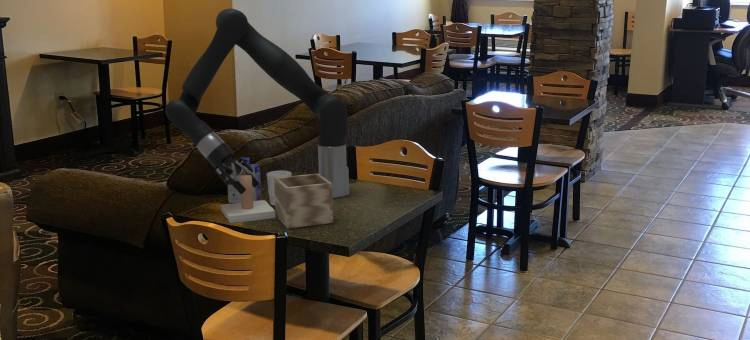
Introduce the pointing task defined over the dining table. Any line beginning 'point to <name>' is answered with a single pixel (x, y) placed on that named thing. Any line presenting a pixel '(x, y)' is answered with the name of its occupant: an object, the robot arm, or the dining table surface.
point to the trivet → (250, 218)
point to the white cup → (271, 182)
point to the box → (303, 200)
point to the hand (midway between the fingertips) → (250, 188)
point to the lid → (247, 204)
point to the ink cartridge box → (236, 196)
